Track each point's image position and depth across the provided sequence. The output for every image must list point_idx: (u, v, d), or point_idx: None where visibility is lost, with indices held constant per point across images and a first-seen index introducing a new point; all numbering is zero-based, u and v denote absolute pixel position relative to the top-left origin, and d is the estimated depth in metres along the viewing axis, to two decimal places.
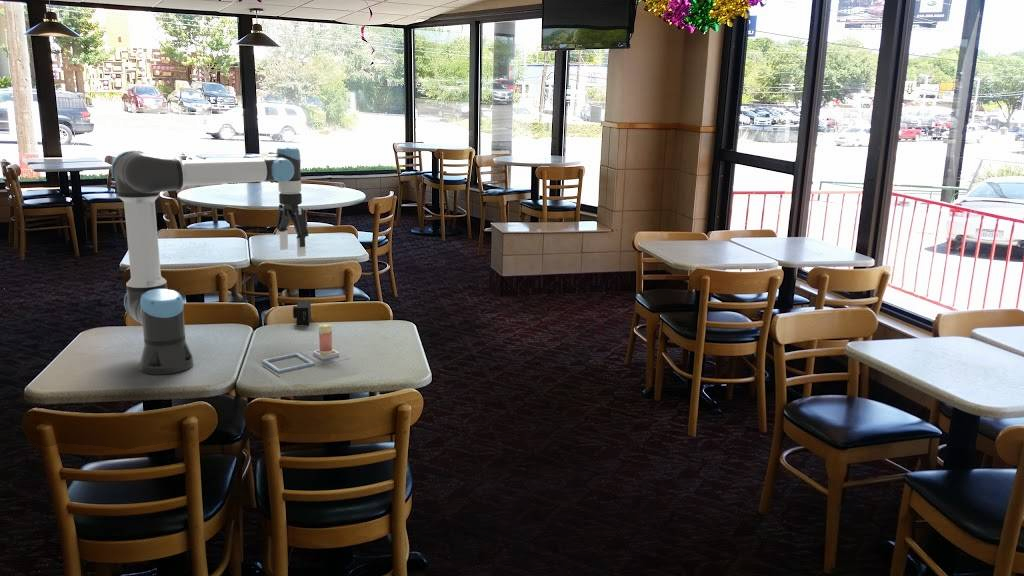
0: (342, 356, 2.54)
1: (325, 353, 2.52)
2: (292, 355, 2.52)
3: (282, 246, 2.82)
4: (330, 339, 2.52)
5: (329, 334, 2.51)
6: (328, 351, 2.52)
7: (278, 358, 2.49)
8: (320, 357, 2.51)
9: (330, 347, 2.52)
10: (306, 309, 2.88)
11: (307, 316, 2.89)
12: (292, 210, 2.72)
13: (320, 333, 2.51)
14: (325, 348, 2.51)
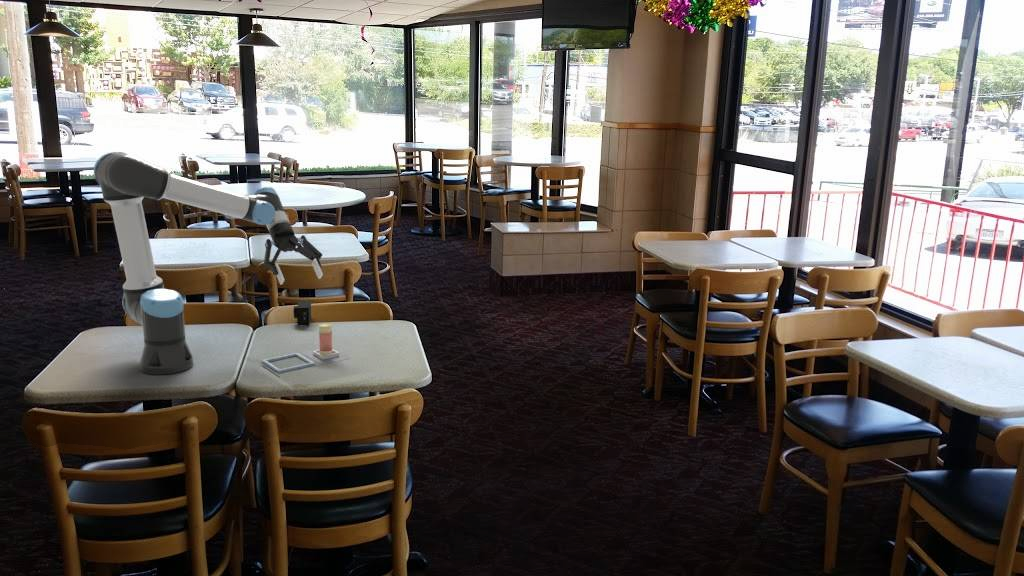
0: (342, 356, 2.54)
1: (325, 353, 2.52)
2: (292, 355, 2.52)
3: None
4: (330, 339, 2.52)
5: (330, 334, 2.51)
6: (328, 351, 2.52)
7: (278, 358, 2.49)
8: (320, 357, 2.51)
9: (330, 347, 2.52)
10: (306, 309, 2.88)
11: (308, 316, 2.89)
12: (295, 238, 2.67)
13: (320, 333, 2.51)
14: (325, 348, 2.51)
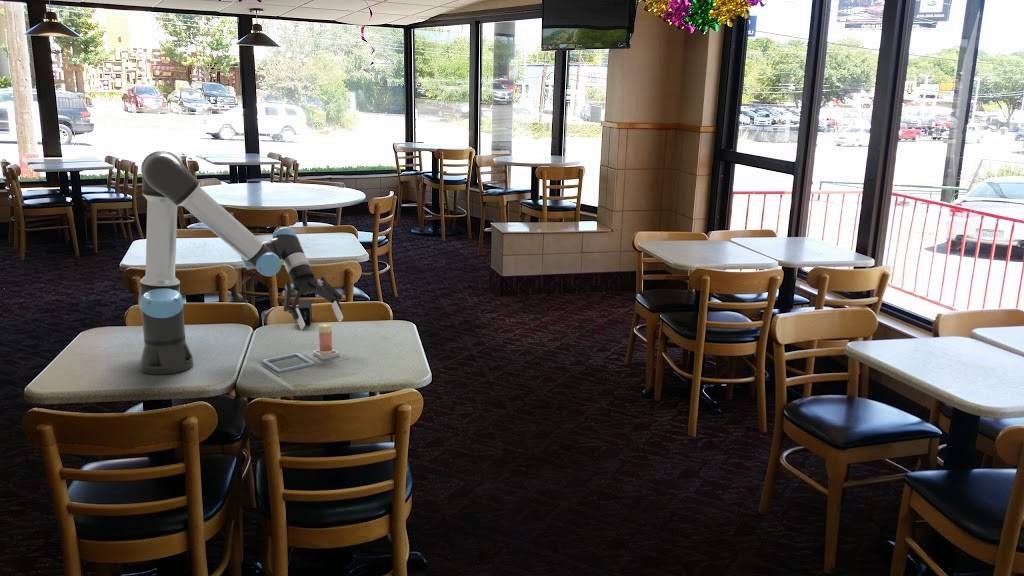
0: (342, 356, 2.54)
1: (325, 353, 2.52)
2: (292, 355, 2.52)
3: None
4: (330, 339, 2.52)
5: (329, 334, 2.51)
6: (328, 351, 2.52)
7: (278, 358, 2.49)
8: (320, 357, 2.51)
9: (330, 347, 2.52)
10: (307, 309, 2.88)
11: (308, 316, 2.89)
12: (315, 280, 2.63)
13: (320, 333, 2.51)
14: (325, 348, 2.51)
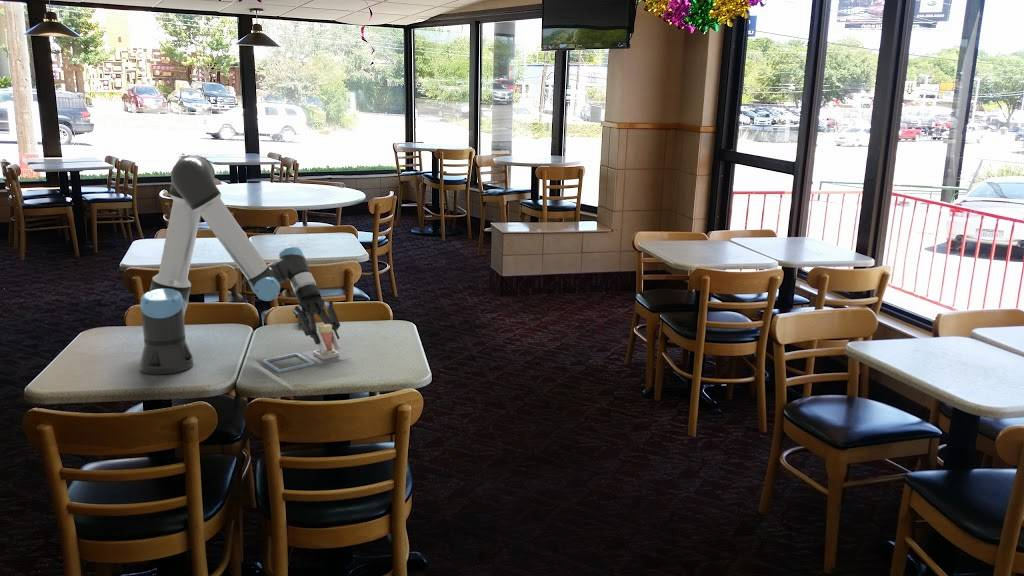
0: (342, 356, 2.54)
1: (325, 353, 2.52)
2: (292, 355, 2.52)
3: None
4: (330, 339, 2.52)
5: (329, 334, 2.51)
6: (328, 351, 2.52)
7: (278, 358, 2.49)
8: (320, 357, 2.51)
9: (330, 347, 2.52)
10: None
11: None
12: (322, 301, 2.58)
13: (320, 333, 2.51)
14: None
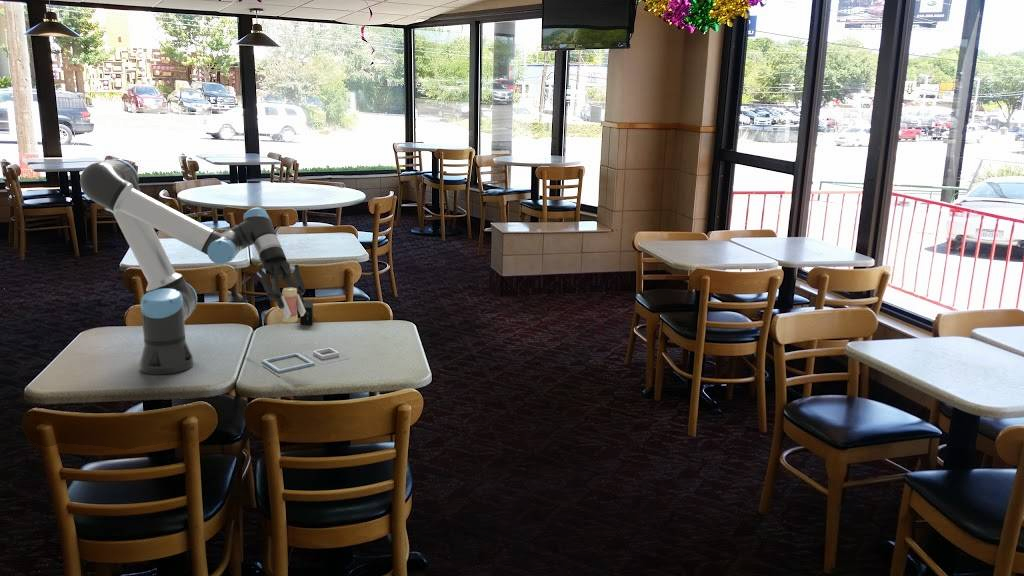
0: (342, 356, 2.54)
1: (289, 318, 2.41)
2: (292, 355, 2.52)
3: None
4: (295, 303, 2.41)
5: (294, 298, 2.41)
6: (292, 316, 2.41)
7: (278, 358, 2.49)
8: (320, 357, 2.51)
9: (295, 312, 2.42)
10: (309, 309, 2.88)
11: (311, 316, 2.89)
12: (287, 264, 2.47)
13: None
14: None
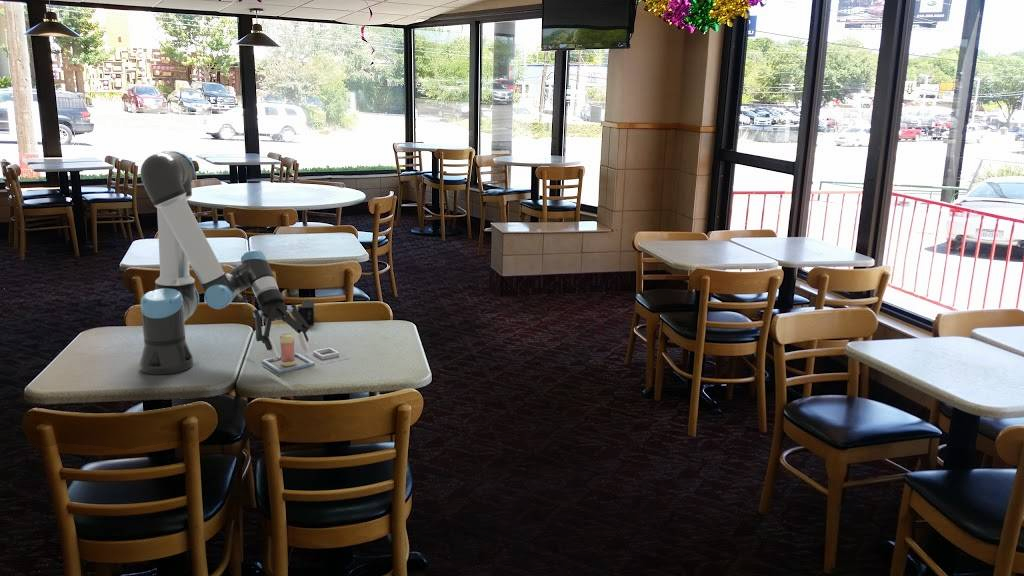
0: (342, 356, 2.54)
1: (287, 364, 2.44)
2: None
3: None
4: (292, 349, 2.44)
5: (291, 344, 2.43)
6: (289, 362, 2.44)
7: (278, 358, 2.49)
8: (320, 357, 2.51)
9: (292, 358, 2.44)
10: (311, 309, 2.89)
11: (312, 316, 2.89)
12: (284, 306, 2.50)
13: (281, 343, 2.43)
14: (287, 359, 2.43)
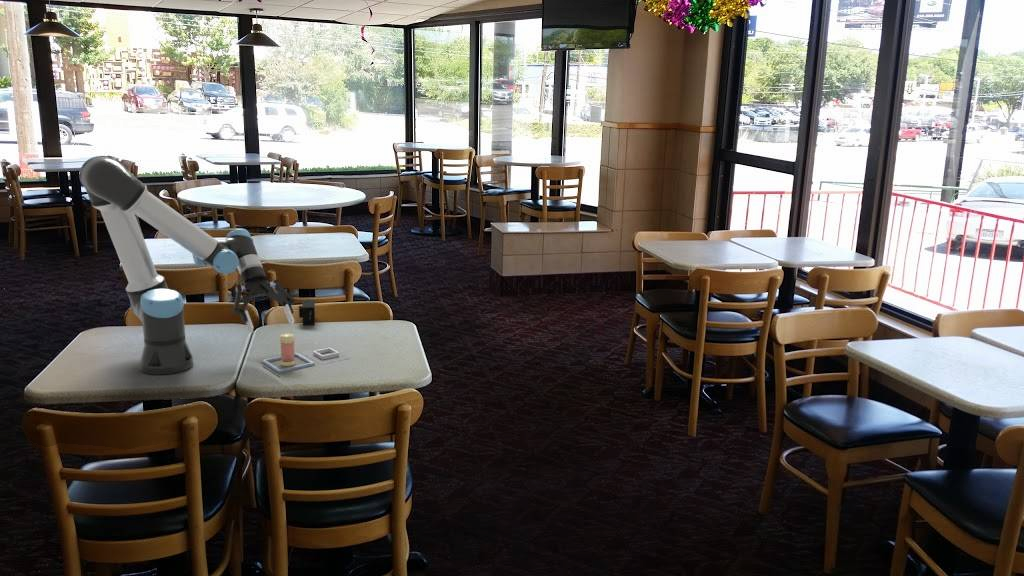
0: (342, 356, 2.54)
1: (287, 364, 2.44)
2: None
3: None
4: (292, 349, 2.44)
5: (291, 344, 2.43)
6: (289, 362, 2.44)
7: (278, 358, 2.49)
8: (320, 357, 2.51)
9: (292, 358, 2.44)
10: (312, 309, 2.89)
11: (313, 315, 2.90)
12: (267, 283, 2.59)
13: (281, 343, 2.43)
14: (287, 359, 2.43)
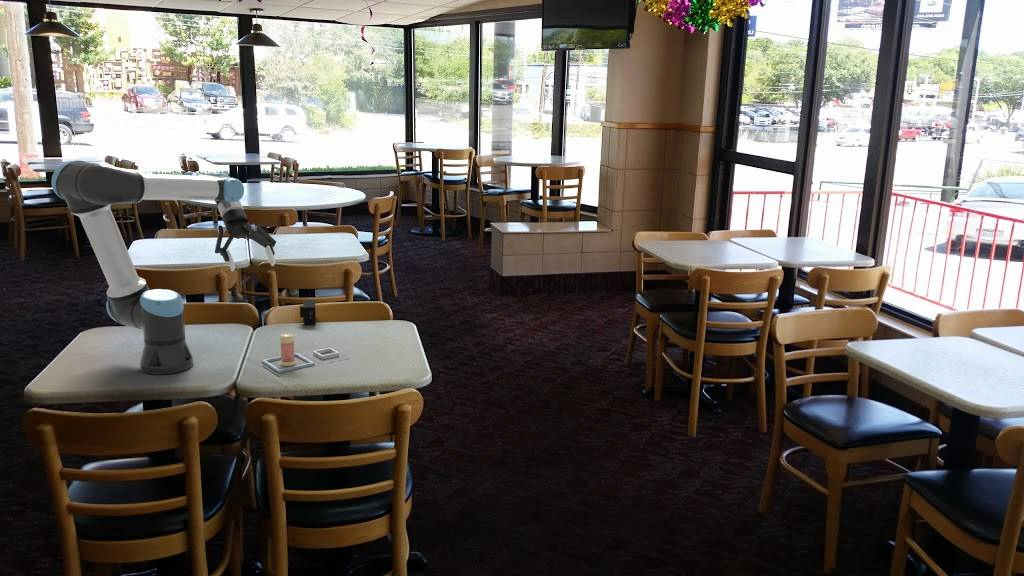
0: (342, 356, 2.54)
1: (287, 364, 2.44)
2: None
3: None
4: (292, 349, 2.44)
5: (291, 344, 2.43)
6: (289, 362, 2.44)
7: (278, 358, 2.49)
8: (320, 357, 2.51)
9: (292, 358, 2.44)
10: (313, 309, 2.89)
11: (314, 315, 2.90)
12: (249, 225, 2.65)
13: (281, 343, 2.43)
14: (287, 359, 2.43)
